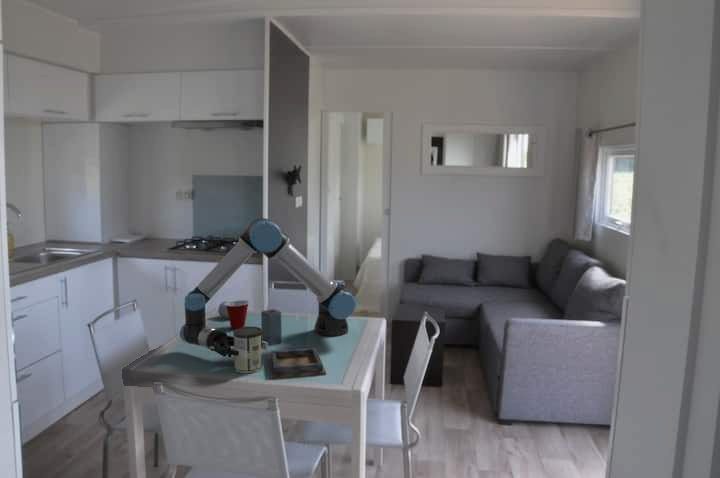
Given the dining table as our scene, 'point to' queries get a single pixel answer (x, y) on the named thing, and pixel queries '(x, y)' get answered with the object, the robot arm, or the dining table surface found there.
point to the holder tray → (295, 363)
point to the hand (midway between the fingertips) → (257, 350)
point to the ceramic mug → (223, 310)
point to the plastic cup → (237, 313)
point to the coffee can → (249, 349)
